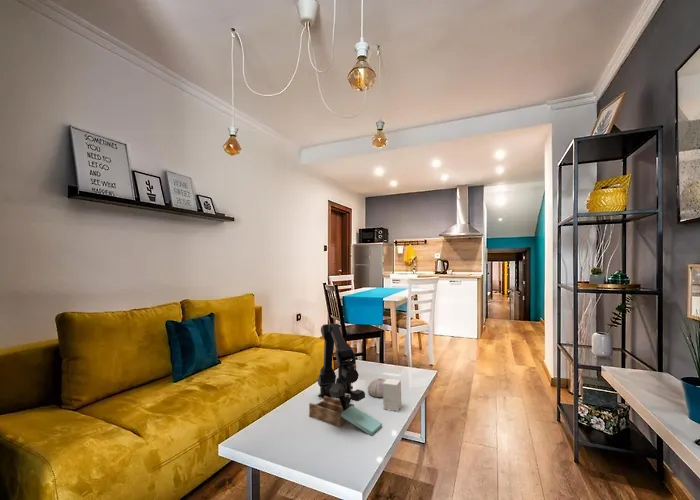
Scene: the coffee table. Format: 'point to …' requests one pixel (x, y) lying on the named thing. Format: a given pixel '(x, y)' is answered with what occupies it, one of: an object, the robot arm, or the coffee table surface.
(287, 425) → the coffee table surface
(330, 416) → the brown wooden box
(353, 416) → the cover plate
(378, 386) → the sea urchin shell
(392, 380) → the supplement box
